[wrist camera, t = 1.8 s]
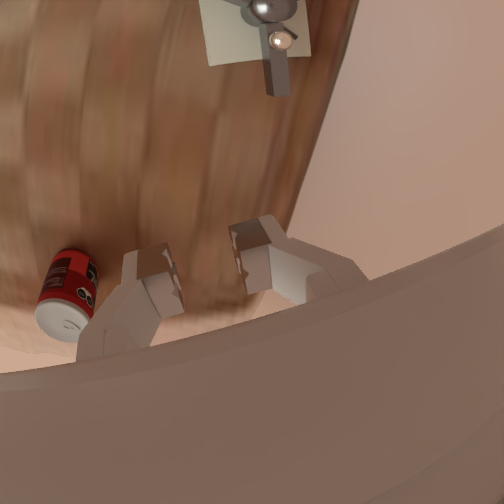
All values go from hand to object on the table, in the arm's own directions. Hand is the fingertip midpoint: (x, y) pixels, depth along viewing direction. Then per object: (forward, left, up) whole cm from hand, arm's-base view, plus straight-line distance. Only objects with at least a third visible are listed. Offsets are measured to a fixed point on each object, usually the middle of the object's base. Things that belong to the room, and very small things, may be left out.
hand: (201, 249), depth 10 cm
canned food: (+17, -20, -27) cm, 38 cm away
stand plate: (-11, +11, -27) cm, 31 cm away
